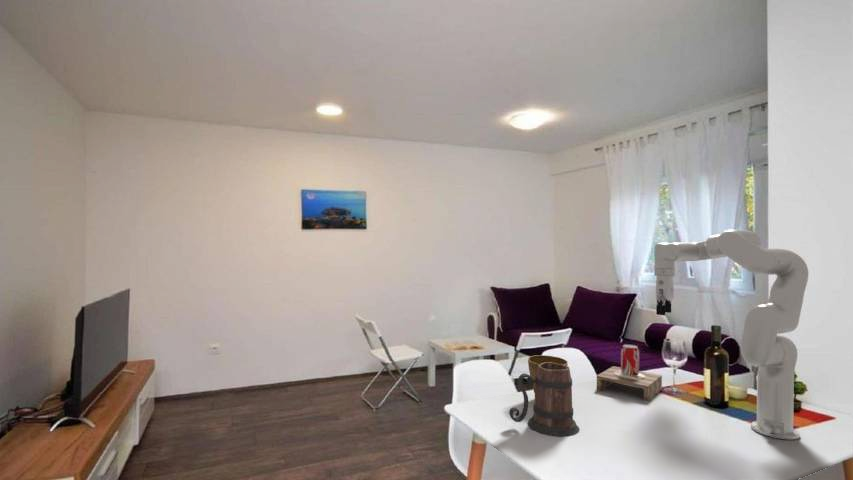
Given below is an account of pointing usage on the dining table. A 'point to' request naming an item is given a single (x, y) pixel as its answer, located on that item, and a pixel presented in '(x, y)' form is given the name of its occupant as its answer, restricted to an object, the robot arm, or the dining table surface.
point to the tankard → (549, 401)
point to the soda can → (630, 360)
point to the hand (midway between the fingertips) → (663, 313)
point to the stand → (631, 381)
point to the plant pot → (539, 359)
